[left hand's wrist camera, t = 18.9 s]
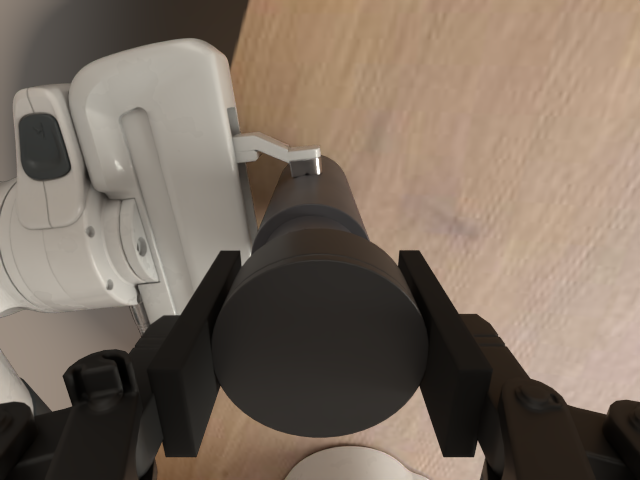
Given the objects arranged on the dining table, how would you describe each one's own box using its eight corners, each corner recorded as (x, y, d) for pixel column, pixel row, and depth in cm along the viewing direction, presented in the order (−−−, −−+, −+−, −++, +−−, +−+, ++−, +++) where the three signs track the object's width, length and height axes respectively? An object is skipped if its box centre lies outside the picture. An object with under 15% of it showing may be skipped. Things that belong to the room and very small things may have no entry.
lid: (206, 246, 12) (179, 283, 10) (398, 210, 11) (418, 240, 9) (255, 393, 14) (243, 450, 12) (418, 368, 14) (437, 422, 11)
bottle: (354, 213, 30) (392, 327, 15) (289, 229, 30) (266, 355, 16) (338, 145, 28) (365, 203, 13) (269, 164, 28) (221, 240, 14)
